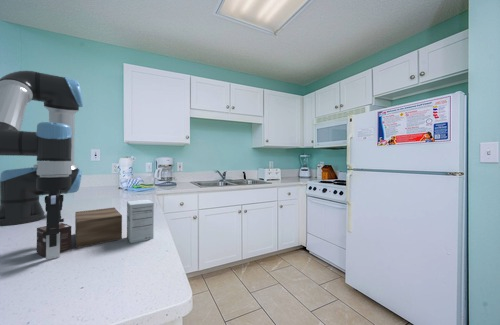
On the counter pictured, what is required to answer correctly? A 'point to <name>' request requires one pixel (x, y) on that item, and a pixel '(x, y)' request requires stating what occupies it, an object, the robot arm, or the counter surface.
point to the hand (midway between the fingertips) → (54, 250)
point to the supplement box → (140, 220)
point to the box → (64, 239)
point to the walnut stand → (97, 226)
